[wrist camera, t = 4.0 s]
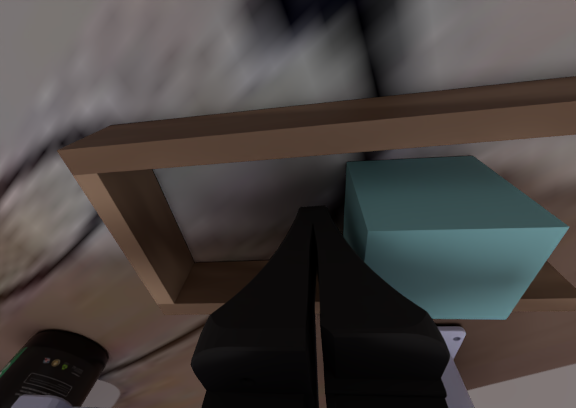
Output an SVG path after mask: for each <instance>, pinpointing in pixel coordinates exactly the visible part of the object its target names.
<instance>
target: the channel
mask: <svg viewBox="0 0 576 408" xmlns="http://www.w3.org/2000/svg"><path fill="white" fill-rule="evenodd" d="M575 134H576V76H575V77H565V78H556V79H546V80H537V81H527V82H518V83H508V84H499V85H489V86H480V87H470V88H461V89H451V90H442V91H432V92H423V93H413V94H404V95H394V96H385V97H375V98H366V99H356V100H347V101H337V102H328V103H318V104H309V105H299V106H290V107H280V108H271V109H261V110H252V111H242V112H233V113H224V114H214V115H205V116H195V117H186V118H176V119H167V120H157V121H148V122H138V123H129V124H119V125H111V126H108V127H106V128H104V129H102V130H100V131H98V132H96V133H93V134H91V135H89V136H87V137H85V138H83V139H80V140H78V141H76V142H74V143H72V144H70V145H68V146H65V147H63V148H61V149H59V150H57V152H58V153H59V155H60V156H61V158H62V159H63V161H64V162H65V164H66V165H67V167H68V168H69V170H70V171H71V173H72V175H73V176H74V178H75V179H76V181H77V182H78V184H79V185H80V187H81V188H82V190H83V191H84V193H85V194H86V196H87V197H88V199H89V201H90V202H91V204H92V205H93V207H94V208H95V210H96V211H97V213H98V214H99V216H100V217H101V219H102V220H103V222H104V223H105V225H106V227H107V228H108V230H109V231H110V233H111V234H112V236H113V237H114V239H115V240H116V242H117V243H118V245H119V246H120V248H121V249H122V251H123V253H124V254H125V256H126V257H127V259H128V260H129V262H130V263H131V265H132V266H133V268H134V269H135V271H136V272H137V274H138V275H139V277H140V279H141V280H142V282H143V283H144V285H145V286H146V288H147V289H148V291H149V292H150V294H151V295H152V297H153V298H154V300H155V301H156V303H157V305H158V306H159V308H160V309H161V311H162V312H163V314H164V315H188V314H211V313H213V312H214V311H216V310H217V309H218V308H220V307H221V306H222V305H223V304H225V303H226V302H227V301H229V300H230V299H231V298H232V297H234V296H235V295H236V294H237V293H238V292H239V291H240V290H241V289H243V288H244V287H245V286H246V285H247V284H248V283H249V282H250V281H251V280H252V279H253V278H254V277H255V276H256V275H257V274H258V273H259V272H260V271H261V269H262V268H263V267H264V266H265V265H266V264H267V263H268V261H269V260H263V261H234V262H204V263H194V261H193V258H192V256H191V254H190V252H189V250H188V247H187V245H186V243H185V241H184V239H183V236H182V234H181V232H180V230H179V228H178V225H177V223H176V221H175V219H174V217H173V214H172V212H171V210H170V208H169V206H168V203H167V201H166V199H165V197H164V195H163V192H162V190H161V188H160V186H159V184H158V181H157V179H156V177H155V175H154V173H153V170H152V169H158V168H170V167H182V166H195V165H207V164H219V163H231V162H244V161H256V160H268V159H281V158H293V157H305V156H317V155H330V154H342V153H354V152H367V151H379V150H391V149H403V148H416V147H428V146H440V145H452V144H465V143H477V142H489V141H502V140H514V139H526V138H538V137H551V136H563V135H575ZM575 310H576V288H575V287H574V286H573V285H571V284H570V283H569V282H568V281H567V280H566V279H565V278H564V277H563V276H562V275H561V274H560V273H559V272H558V271H557V270H556V269H555V268H554V267H553V266H551V265H550V264H549V263H548V262H547V261H546V262H545V263H544V265H543V266H542V268H541V269H540V271H539V272H538V274H537V275H536V277H535V278H534V279H533V281H532V282H531V284H530V285H529V287H528V288H527V290H526V291H525V293H524V294H523V296H522V297H521V298H520V300H519V301H518V303H517V304H516V306H515V307H514V309H513V310H512V312H537V311H575ZM315 313H320V296H319V282H318V275H317V277H316V295H315Z"/></svg>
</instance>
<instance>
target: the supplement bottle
mask: <svg viewBox="0 0 576 408" xmlns="http://www.w3.org/2000/svg"><path fill="white" fill-rule="evenodd" d="M106 363H107V355H106V353H105V351H104V350H103V349H102V348H101V347H100V346H99V345H97V344H96V343H94V342H93V341H91V340H89V339H87V338H85V337H82V336H80V335H77V334H73V333H69V332H65V331H55V330H50V331H44V332H41V333H38V334H36V335H35V336H33V337H32V338H31V339H30V340H29V341H28V342H27V343H26V344H25V345H24V346H23V347H22V348H21V349H20V350H19V351H18V353H17V354H16V355H15V356H14V357H13V358H12V359H11V360H10V361H9V362H8V364H7V365H6V366H5V367H4V368H3V369H2V370H1V371H0V408H11V407H12V406H13V404H14V403H15V402H16V401H17V399H18V398H19V397H20V396H22V395H51V396H57V397H60V398H63V399H65V400H66V401H68V402H69V403H70V404H71V405H72V407H81V406H82V404H83V402H84V401H85V399H86V397H87V396H88V394H89V392H90V391H91V389H92V388H93V386H94V384H95V382H96V381H97V379H98V378H99V376H100V374H101V373H102V371H103V369H104V367H105V366H106Z"/></svg>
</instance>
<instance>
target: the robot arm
mask: <svg viewBox="0 0 576 408" xmlns="http://www.w3.org/2000/svg"><path fill="white" fill-rule="evenodd" d="M317 275H318V282H319V296H320V327H321V339H322V351H323V362H324V380H325V394H326V405H327V408H475V407H474V405H473V403H472V401H471V398H470V396H469V394H468V392H467V389H466V387H465V385H464V383H463V380H462V378H461V376H460V374H459V372H458V369H457V367H456V365H455V363H454V360H453V359H454V357H455V355H456V353H457V351H458V349H459V347H460V345H461V343H462V341H463V339H464V337H465V335H466V332H465V330H464V328H462V327H460V326H436V324H435V323H434V321H433V320H432V318H431V316H430V315H429V313H428V312H427V311H425V310H424V309H422V308H421V307H419V306H418V305H416V304H415V303H413V302H412V301H411V300H409V299H408V298H406V297H405V296H403V295H402V294H401V293H399V292H398V291H397V290H395V289H394V288H393V287H391V286H390V285H389V284H388V283H387V282H386V281H384V280H383V279H382V278H381V277H380V276H379V275H378V274H376V273H375V272H374V271H373V270H372V269H371V268H370V267H369V266H368V265H367V264H366V263H365V262H364V261H363V260H362V259H361V258H360V257H359V256H358V255H357V253H356V252H355V251H354V250H353V249H352V248H351V246H350V245H349V244H348V242H347V241H346V240H345V238H344V237H343V236H342V234H341V233H340V231H339V230H338V228H337V227H336V225H335V223H334V221H333V220H332V218H331V216H330V214H329V211H328V208H327V207H326V206H309V207H300V208H299V210H298V213H297V216H296V218H295V220H294V222H293V224H292V226H291V228H290V230H289V232H288V234H287V235H286V237H285V239H284V240H283V242H282V243H281V245H280V246H279V248H278V249H277V251H276V252H275V254H274V255H273V256H272V258H271V259H270V260H269V261H268V263H267V264H266V265H265V266H264V267H263V268H262V269H261V271H260V272H259V273H258V274H257V275H256V276H255V277H254V278H253V279H252V280H251V281H250V282H249V283H248V284H247V285H246V286H245V287H244V288H243V289H241V290H240V291H239V292H238V293H237V294H236V295H235V296H234V297H232V298H231V299H230V300H229V301H227V302H226V303H225V304H223V305H222V306H221V307H220V308H218V309H217V310H216V311H214V312H213V313H211V314H210V316H209V318H208V320H207V322H206V324H205V326H204V328H203V330H202V332H201V335H200V337H199V340H198V343H197V346H196V348H195V351H194V354H193V357H192V360H191V367H192V369H193V371H194V373H195V375H196V376H197V378H198V379H199V380H200V382H201V383H202V385H203V386H204V388H205V389H206V394H205V397H204V401H203V404H202V408H319V400H318V377H317V352H316V325H315V295H316V277H317ZM11 408H97V407H72V405H71V404H70V403H69V402H68V401H66V400H65V399H63V398H60V397H57V396H51V395H22V396H20V397H19V398H18V399H17V401H16V402H15V403H14V404H13V406H12V407H11Z"/></svg>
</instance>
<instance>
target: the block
mask: <svg viewBox="0 0 576 408" xmlns="http://www.w3.org/2000/svg"><path fill="white" fill-rule="evenodd" d="M568 228H569V226H567V225H566V224H565V223H563V222H562V221H561V220H559V219H558V218H556V217H555V216H554V215H552V214H551V213H550V212H548V211H547V210H546V209H544V208H543V207H542V206H540V205H539V204H537V203H536V202H535V201H533V200H532V199H531V198H529V197H528V196H527V195H525V194H524V193H523V192H521V191H520V190H518V189H517V188H516V187H514V186H513V185H512V184H510V183H509V182H508V181H506V180H505V179H504V178H502V177H501V176H499V175H498V174H497V173H495V172H494V171H493V170H491V169H490V168H489V167H487V166H486V165H485V164H483V163H482V162H481V161H479V160H478V159H476V158H475V157H474V156H458V157H438V158H417V159H396V160H376V161H355V162H347V168H346V188H345V208H344V228H343V237H344V238H345V240H346V241H347V242H348V244H349V245H350V246H351V248H352V249H353V250H354V251H355V252H356V253H357V255H358V256H359V257H360V258H361V259H362V260H363V261H364V262H365V263H366V264H367V265H368V266H369V267H370V268H371V269H372V270H373V271H374V272H375V273H376V274H378V275H379V276H380V277H381V278H382V279H383V280H384V281H386V282H387V283H388V284H389V285H390V286H391V287H393V288H394V289H395V290H397V291H398V292H399V293H401V294H402V295H403V296H405V297H406V298H408V299H409V300H411V301H412V302H413V303H415V304H416V305H418V306H419V307H421V308H422V309H424V310H425V311H427V312H428V313H429V315H430V316H431V318H432V319H500V320H506V319H507V317H508V316H509V315H510V313H511V312H512V310H513V309H514V307H515V306H516V304H517V303H518V301H519V300H520V298H521V297H522V296H523V294H524V293H525V291H526V290H527V288H528V287H529V285H530V284H531V282H532V281H533V279H534V278H535V277H536V275H537V274H538V272H539V271H540V269H541V268H542V266H543V265H544V263H545V262H546V260H547V259H548V258H549V256H550V255H551V253H552V252H553V250H554V249H555V247H556V246H557V244H558V243H559V242H560V240H561V239H562V237H563V236H564V234H565V233H566V231H567V230H568Z"/></svg>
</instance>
